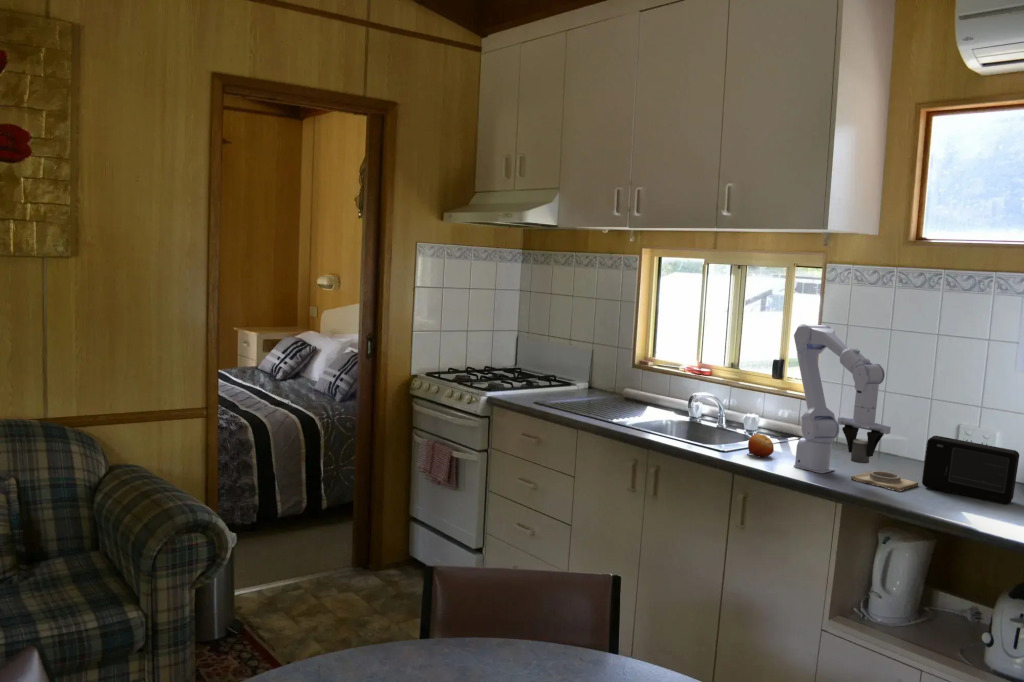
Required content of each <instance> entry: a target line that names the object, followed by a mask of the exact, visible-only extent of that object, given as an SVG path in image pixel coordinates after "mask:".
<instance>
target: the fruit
mask: <svg viewBox="0 0 1024 682" xmlns="http://www.w3.org/2000/svg"><path fill="white" fill-rule="evenodd" d="M747 447H748V453H747V454H746V455H747V456H748V455H752V456H754V457H756V458H760V459H764V458H766V457H770V456H772V454H773V453H774V443H773V441H772V440H771V438H769V437H767V435H765V434H761V433H756V434H754V435H751V437H750V438H749V439H748V442H747Z"/></svg>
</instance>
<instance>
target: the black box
mask: <svg viewBox="0 0 1024 682" xmlns="http://www.w3.org/2000/svg"><path fill="white" fill-rule="evenodd" d="M1019 461H1020V453H1019V452H1018V451H1017V450H1015V449H1008V448H1004V447H998V446H993V445H989V444H983V443H977V442H972V441H966V440H962V439H956V438H951V437H945V436H941V435H940V436H939V435H932V436H931V437H930V438H929V439H927V441H926V448H925V456H924V464H923V465H924V466H923V471H922V477H921V478H922V479H921V483H922V485H923V486H924V487H925V488H930V489H933V490H938V491H943V492H947V493H952V494H955V495H961V496H965V497H969V498H974V499H979V500H983V501H988V502H991V503H997V504H1001V505H1009V504H1010V503H1011V502H1012V500H1013V499H1014V497H1015V496H1014V494H1015V490H1016V489H1015V488H1016V480H1017V474H1018V468H1019Z"/></svg>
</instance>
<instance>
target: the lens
mask: <svg viewBox="0 0 1024 682" xmlns="http://www.w3.org/2000/svg"><path fill="white" fill-rule="evenodd" d="M867 448H868V439H863V438H856V439H853V441H852V452H851V453H850V461H851V462H853V463H856V464H869V463H870V458H871V457H868V456H867Z"/></svg>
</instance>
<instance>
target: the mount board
mask: <svg viewBox="0 0 1024 682" xmlns="http://www.w3.org/2000/svg"><path fill="white" fill-rule="evenodd" d="M851 479H853V480H852V481H854V480H856V481H855V482H858V481H860V482H859V483H862V482H865V483H864V484H866V483H869V484H868V485H870V484H873V485H872V486H874V485H877V486H876V487H878V486H882V487H886V488H890V489H894V490H897V491H896V492H898V491H900V490H903V489H906V490H908V489H907V488H910V489H912V488H911V487H913V488H915V487H914V486H916V487H919V482H917V481H914V480H909V479H905V478H902V477H901V475H899V474H897V473H893V472H889V471H882V470H872V471H867V472H863V473H859V474H856V475H851V476H850V480H851ZM882 487H881V488H882ZM886 488H885V489H886ZM890 489H889V490H890ZM894 490H893V491H894ZM903 491H904V490H903ZM900 492H901V491H900Z"/></svg>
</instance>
